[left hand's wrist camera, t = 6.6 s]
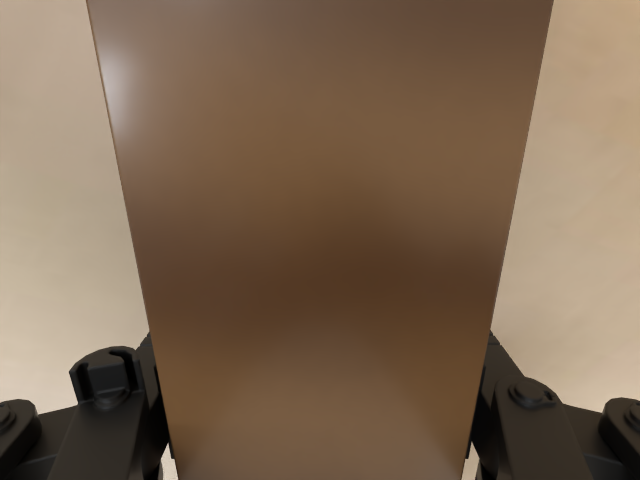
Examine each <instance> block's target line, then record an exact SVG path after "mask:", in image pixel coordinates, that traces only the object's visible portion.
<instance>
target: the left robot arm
mask: <svg viewBox="0 0 640 480" xmlns="http://www.w3.org/2000/svg"><path fill="white" fill-rule="evenodd" d="M69 374H70V377H71V381H72V384H73V388H74V391H75V394H76V398H77V401H78V405H76V406H73V407H69V408H65V409H61V410H56V411H52V412H48V413H43V414H39V415H38V413H37V410H36V408H35V405H34V404H33V403H31V402H30V401H29V400H22V399H16V400H9V401H4V402H1V403H0V480H163V469H162V463H161V457H162V455H163V453H164V451H165V448H166V446H167V444H168V443H169V449H170V454H171V459H174V454H173V449H172V444H171V439H170V433H169V428H168V423H167V418H166V413H165V407H164V402H163V397H162V392H161V387H160V382H159V376H158V371H157V366H156V361H155V356H154V350H153V345H152V340H151V335H150V332H149V333H148V334H147V337H145V338H144V340H143V341H142V343H141V344H140V347H138V348H137V349H136V350H134V349H133V348H130V347H126V346H114V347H108V348H104V349H100V350H97V351H95V352H93V353H91V354H89V355H86V356H85V357H83V358H82V359H81V360H79V361H78V362H76V363H75V364H74V366H73V367H72V368H71V369H70V371H69ZM471 442H473V445H474V447H475V449H476V451H477V454H478V456H479V463H478V468H477V472H476V477H475V480H640V401H638V400H635V399H629V398H622V397H621V398H614V399H611V400H609V401H608V402H607V403H606V404H605V407H604V409H603V412H602V413H599V412H595V411H591V410H586V409H582V408H578V407H573V406H569V405H566V404H563V403H562V402H561V400H560V399H559V397H558V396H557V395H556V393H555V392H553V391H552V390H551V389H550V388H548V387H547V386H546V385H544V384H542V383H540V382H538V381H536V380H534V379H531V378H528V377H524V375H523V374H522V373H521V371H520V370H519V368H518V367H517V366H516V364H515V363H514V362H513V360H512V359H511V358H510V356H509V355H508V353H507V352H506V351H505V349H504V348H503V347H502V345H500V343H499V341H498V340H497V339H496V337H495V336H493V333H492V332H491V330H490V333H489V338H488V343H487V349H486V354H485V359H484V364H483V369H482V375H481V380H480V385H479V390H478V395H477V401H476V406H475V411H474V416H473V421H472V426H471V432H470V437H469V442H468V447H467V452H466V458H465V459H468V457H469V452H470V447H471Z"/></svg>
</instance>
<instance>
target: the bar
mask: <svg viewBox="0 0 640 480" xmlns="http://www.w3.org/2000/svg"><path fill="white" fill-rule="evenodd" d="M553 1H554V0H86V3H87V9H88V14H89V19H90V24H91V29H92V34H93V40H94V45H95V50H96V55H97V60H98V66H99V71H100V76H101V81H102V86H103V91H104V97H105V102H106V107H107V112H108V117H109V123H110V128H111V133H112V138H113V143H114V148H115V154H116V159H117V164H118V169H119V174H120V180H121V185H122V190H123V195H124V200H125V205H126V211H127V216H128V221H129V226H130V231H131V237H132V242H133V247H134V252H135V257H136V262H137V268H138V273H139V278H140V283H141V288H142V293H143V299H144V304H145V309H146V314H147V319H148V325H149V330H150V335H151V340H152V345H153V350H154V356H155V361H156V366H157V371H158V376H159V382H160V387H161V392H162V397H163V402H164V407H165V413H166V418H167V423H168V428H169V433H170V439H171V444H172V449H173V454H174V459H175V464H176V470H177V475H178V480H461V478H462V473H463V468H464V463H465V458H466V452H467V447H468V442H469V437H470V432H471V426H472V421H473V416H474V411H475V406H476V401H477V395H478V390H479V385H480V380H481V375H482V369H483V364H484V359H485V354H486V349H487V343H488V338H489V333H490V328H491V323H492V318H493V312H494V307H495V302H496V297H497V292H498V286H499V281H500V276H501V271H502V266H503V260H504V255H505V250H506V245H507V240H508V234H509V229H510V224H511V219H512V214H513V209H514V203H515V198H516V193H517V188H518V183H519V177H520V172H521V167H522V162H523V157H524V151H525V146H526V141H527V136H528V131H529V125H530V120H531V115H532V110H533V105H534V100H535V94H536V89H537V84H538V79H539V74H540V68H541V63H542V58H543V53H544V48H545V42H546V37H547V32H548V27H549V22H550V16H551V11H552V6H553Z"/></svg>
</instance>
